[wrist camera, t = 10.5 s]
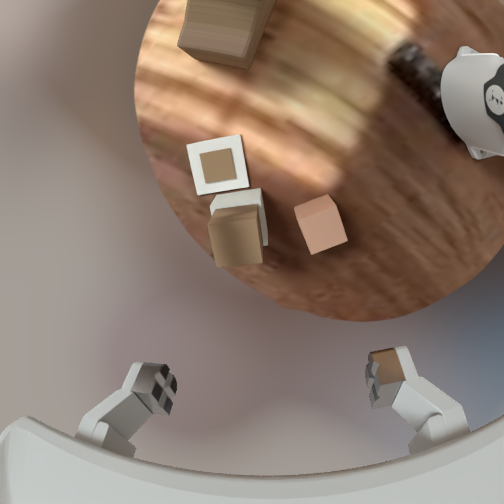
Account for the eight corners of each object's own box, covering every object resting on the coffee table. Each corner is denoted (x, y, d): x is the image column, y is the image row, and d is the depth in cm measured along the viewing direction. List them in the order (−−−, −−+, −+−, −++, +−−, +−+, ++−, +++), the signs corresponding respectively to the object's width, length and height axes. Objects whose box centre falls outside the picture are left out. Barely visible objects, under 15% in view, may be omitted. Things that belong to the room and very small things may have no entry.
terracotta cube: (327, 193, 35) (336, 205, 31) (338, 225, 38) (347, 240, 33) (293, 207, 37) (297, 220, 32) (306, 238, 39) (311, 254, 34)
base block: (260, 187, 36) (260, 198, 31) (267, 229, 38) (267, 245, 34) (216, 195, 36) (209, 206, 32) (225, 235, 39) (220, 251, 35)
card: (240, 134, 32) (239, 134, 32) (249, 186, 35) (249, 187, 35) (187, 144, 33) (185, 145, 32) (198, 194, 36) (197, 195, 36)
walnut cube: (257, 203, 31) (256, 219, 27) (263, 242, 34) (262, 262, 29) (215, 209, 32) (207, 225, 28) (223, 246, 34) (216, 267, 30)
